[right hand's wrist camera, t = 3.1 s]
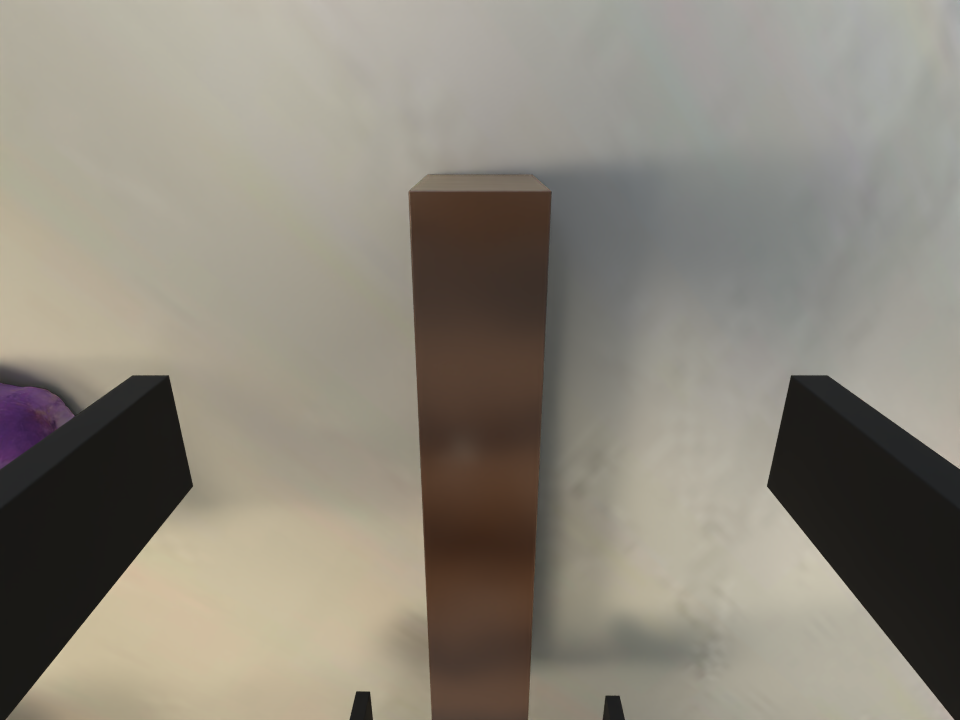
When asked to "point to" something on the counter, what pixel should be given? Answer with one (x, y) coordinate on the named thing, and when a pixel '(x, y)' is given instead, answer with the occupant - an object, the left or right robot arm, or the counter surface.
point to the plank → (479, 430)
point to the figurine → (27, 418)
